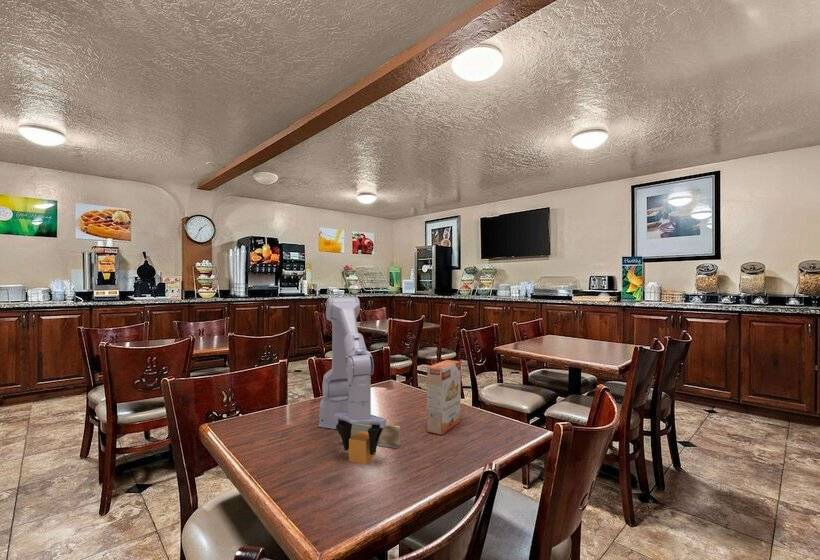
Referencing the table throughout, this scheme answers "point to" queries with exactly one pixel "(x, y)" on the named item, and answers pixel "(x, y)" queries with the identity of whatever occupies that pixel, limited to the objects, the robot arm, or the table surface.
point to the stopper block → (360, 448)
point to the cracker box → (443, 396)
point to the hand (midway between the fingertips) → (360, 451)
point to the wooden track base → (390, 437)
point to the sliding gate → (358, 429)
